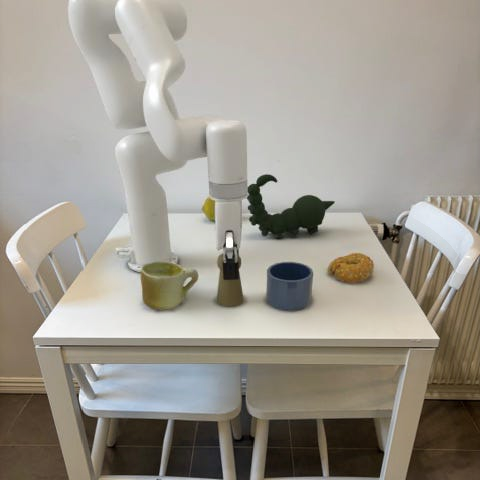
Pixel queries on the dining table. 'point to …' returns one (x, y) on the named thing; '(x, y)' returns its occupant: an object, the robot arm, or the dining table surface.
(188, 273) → the mug
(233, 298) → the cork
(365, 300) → the dining table surface
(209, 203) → the lemon
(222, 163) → the robot arm
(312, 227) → the toy figurine
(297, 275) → the crock
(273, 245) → the dining table surface
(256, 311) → the dining table surface
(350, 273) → the bagel
